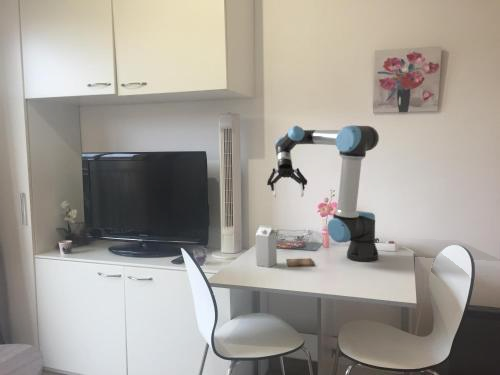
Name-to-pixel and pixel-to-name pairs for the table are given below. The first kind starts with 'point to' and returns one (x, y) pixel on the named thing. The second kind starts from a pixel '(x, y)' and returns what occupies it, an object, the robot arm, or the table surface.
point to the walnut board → (300, 262)
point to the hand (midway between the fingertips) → (288, 195)
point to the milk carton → (266, 246)
